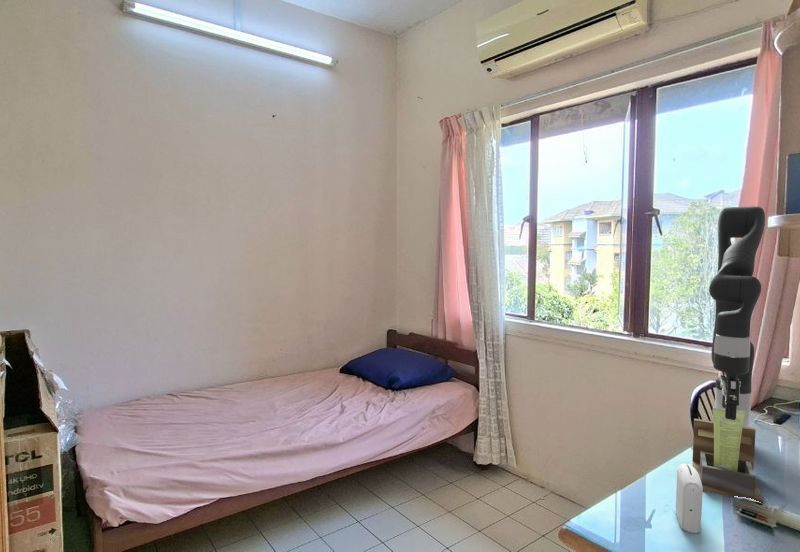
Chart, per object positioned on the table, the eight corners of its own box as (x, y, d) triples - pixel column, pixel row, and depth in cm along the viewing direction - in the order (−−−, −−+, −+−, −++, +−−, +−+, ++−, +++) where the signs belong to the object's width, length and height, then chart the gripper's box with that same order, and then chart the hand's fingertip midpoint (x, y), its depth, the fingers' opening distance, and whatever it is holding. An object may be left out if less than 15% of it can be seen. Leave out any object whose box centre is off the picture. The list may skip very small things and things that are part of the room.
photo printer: (702, 535, 100) (705, 481, 99) (680, 530, 101) (682, 477, 100) (694, 510, 109) (696, 460, 108) (673, 506, 111) (675, 457, 110)
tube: (720, 474, 124) (724, 404, 123) (741, 482, 119) (745, 410, 118) (709, 479, 121) (712, 407, 120) (730, 488, 117) (733, 414, 115)
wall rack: (692, 461, 133) (694, 418, 132) (752, 474, 126) (754, 428, 125) (694, 488, 119) (696, 440, 118) (762, 504, 111) (765, 452, 111)
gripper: (712, 345, 126) (709, 402, 127) (716, 356, 113) (713, 420, 115) (746, 348, 122) (742, 407, 123) (754, 360, 110) (750, 426, 111)
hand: (728, 413), depth 119 cm, fingers open, 8 cm apart
